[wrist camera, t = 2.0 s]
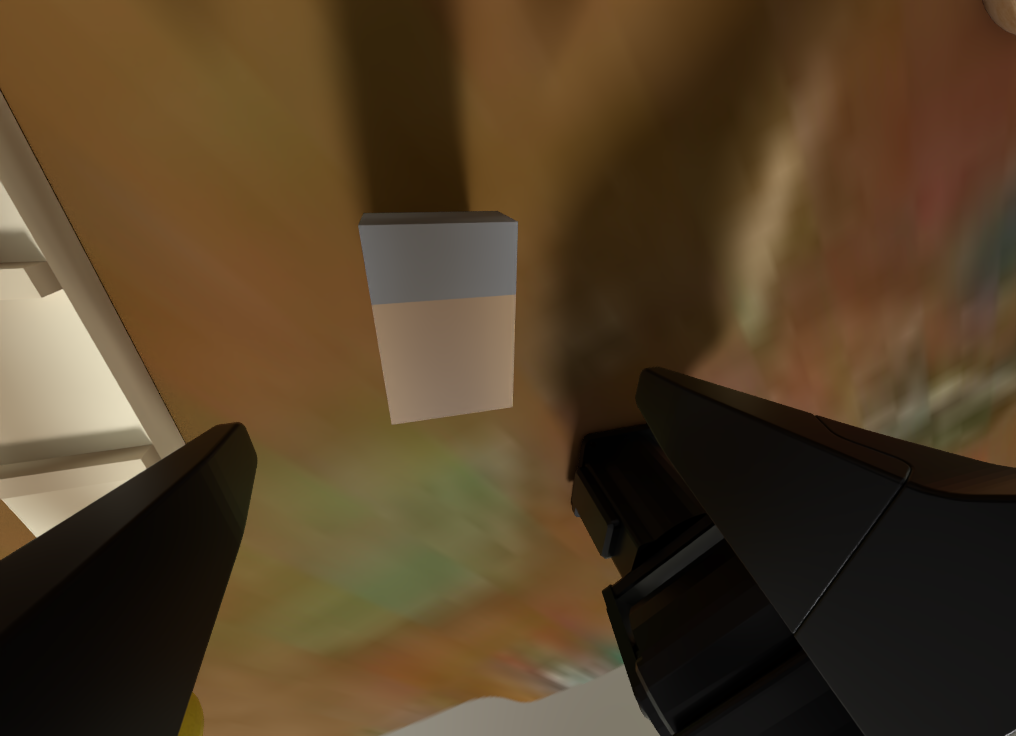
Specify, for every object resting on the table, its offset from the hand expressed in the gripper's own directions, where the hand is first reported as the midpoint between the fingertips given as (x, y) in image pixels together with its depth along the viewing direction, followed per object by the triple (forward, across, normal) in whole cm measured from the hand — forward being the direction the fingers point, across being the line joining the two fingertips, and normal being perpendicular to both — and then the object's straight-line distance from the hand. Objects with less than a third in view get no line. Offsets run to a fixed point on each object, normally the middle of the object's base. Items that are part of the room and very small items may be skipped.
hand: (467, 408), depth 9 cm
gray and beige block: (+8, 0, 0) cm, 8 cm away
